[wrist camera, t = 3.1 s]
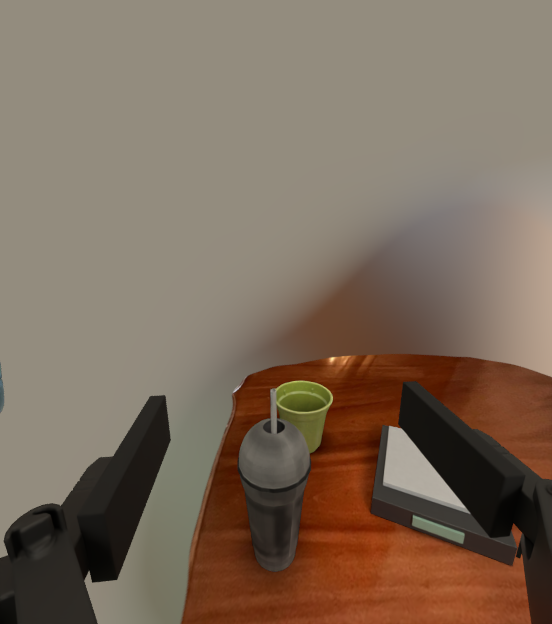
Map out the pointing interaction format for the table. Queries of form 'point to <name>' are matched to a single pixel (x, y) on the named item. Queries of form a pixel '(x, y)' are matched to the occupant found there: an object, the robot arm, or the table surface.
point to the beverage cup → (274, 487)
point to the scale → (427, 499)
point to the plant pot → (304, 408)
